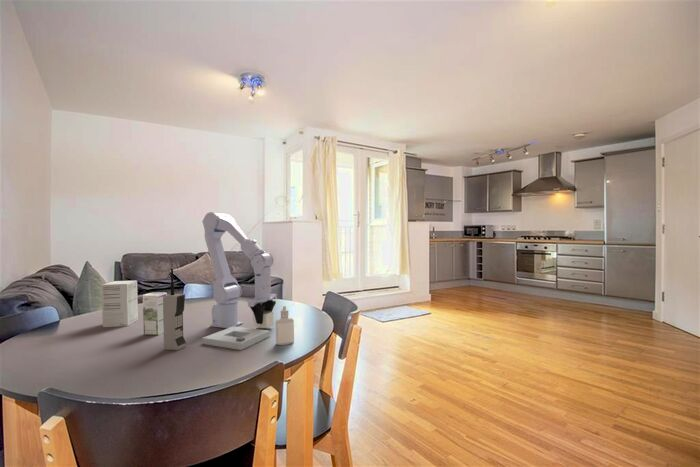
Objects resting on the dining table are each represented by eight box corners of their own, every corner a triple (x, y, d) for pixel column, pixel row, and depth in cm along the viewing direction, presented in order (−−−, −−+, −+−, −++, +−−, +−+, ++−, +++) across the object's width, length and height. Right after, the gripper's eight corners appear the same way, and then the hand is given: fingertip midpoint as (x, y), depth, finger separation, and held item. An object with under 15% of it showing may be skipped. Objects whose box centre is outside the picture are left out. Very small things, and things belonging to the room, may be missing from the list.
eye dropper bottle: (292, 345, 105) (291, 307, 105) (274, 345, 105) (273, 307, 105) (295, 340, 109) (294, 304, 109) (278, 340, 109) (277, 304, 109)
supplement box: (114, 321, 139) (113, 281, 139) (138, 319, 140) (137, 280, 140) (101, 327, 129) (100, 284, 129) (127, 326, 131) (127, 283, 131)
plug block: (253, 326, 123) (253, 312, 123) (260, 323, 127) (260, 309, 127) (266, 328, 121) (266, 313, 121) (273, 325, 125) (273, 311, 125)
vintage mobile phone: (178, 350, 102) (176, 269, 102) (163, 349, 103) (162, 269, 103) (186, 346, 106) (184, 267, 106) (172, 345, 107) (170, 267, 107)
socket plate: (202, 343, 108) (202, 335, 108) (233, 331, 121) (233, 324, 121) (241, 350, 102) (241, 340, 101) (269, 336, 114) (269, 328, 114)
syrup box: (168, 330, 124) (167, 291, 123) (157, 335, 118) (156, 294, 118) (154, 330, 124) (153, 291, 124) (142, 335, 118) (141, 294, 118)
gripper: (258, 289, 116) (259, 328, 116) (283, 283, 129) (283, 318, 129) (242, 288, 118) (243, 326, 119) (268, 282, 132) (268, 316, 132)
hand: (263, 322), depth 124 cm, fingers closed on plug block, 4 cm apart
